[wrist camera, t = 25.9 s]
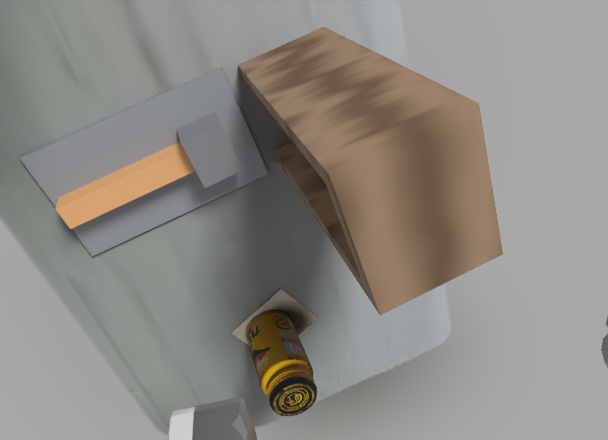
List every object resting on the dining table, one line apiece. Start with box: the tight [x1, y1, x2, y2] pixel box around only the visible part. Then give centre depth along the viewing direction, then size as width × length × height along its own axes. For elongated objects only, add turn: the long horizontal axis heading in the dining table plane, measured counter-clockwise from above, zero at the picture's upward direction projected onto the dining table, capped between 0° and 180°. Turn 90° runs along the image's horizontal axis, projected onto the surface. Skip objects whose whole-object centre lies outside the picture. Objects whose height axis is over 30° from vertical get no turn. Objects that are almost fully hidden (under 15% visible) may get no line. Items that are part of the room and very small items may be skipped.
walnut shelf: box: [238, 27, 503, 315], centre depth 42 cm, size 9×11×26 cm
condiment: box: [231, 289, 317, 416], centre depth 61 cm, size 7×8×12 cm
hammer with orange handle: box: [56, 112, 243, 229], centre depth 49 cm, size 17×5×4 cm, turn 110°
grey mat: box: [20, 67, 268, 256], centre depth 51 cm, size 20×12×1 cm, turn 110°
